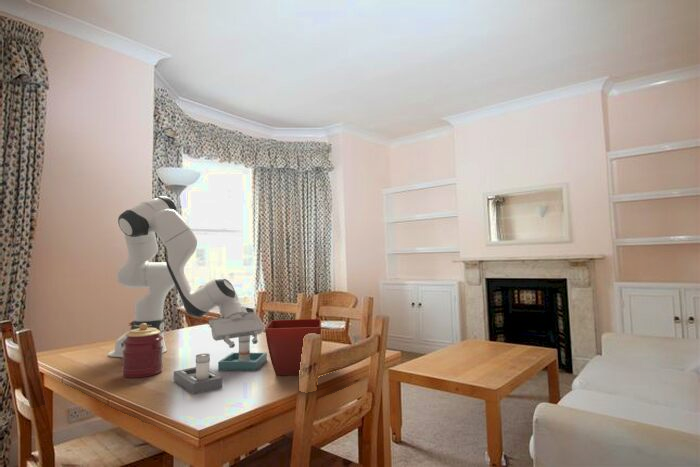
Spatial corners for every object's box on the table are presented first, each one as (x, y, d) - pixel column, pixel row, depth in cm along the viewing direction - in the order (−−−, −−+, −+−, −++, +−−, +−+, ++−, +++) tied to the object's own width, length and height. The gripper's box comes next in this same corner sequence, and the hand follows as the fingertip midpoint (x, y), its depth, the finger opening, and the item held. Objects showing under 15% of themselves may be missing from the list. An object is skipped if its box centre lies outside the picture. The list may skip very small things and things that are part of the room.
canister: (144, 379, 134) (145, 326, 135) (112, 377, 137) (113, 325, 138) (170, 368, 147) (171, 320, 148) (140, 367, 150) (141, 319, 151)
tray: (218, 370, 144) (218, 361, 144) (232, 360, 158) (232, 352, 158) (256, 370, 143) (256, 362, 143) (266, 360, 157) (266, 352, 157)
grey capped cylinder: (236, 364, 149) (236, 337, 150) (240, 361, 153) (240, 335, 154) (247, 364, 149) (247, 337, 149) (251, 361, 153) (251, 335, 154)
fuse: (193, 389, 124) (193, 356, 124) (199, 384, 128) (199, 353, 128) (206, 389, 123) (206, 356, 124) (211, 385, 128) (212, 353, 128)
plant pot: (271, 363, 152) (271, 319, 153) (321, 362, 154) (321, 318, 154) (264, 379, 133) (264, 328, 134) (321, 377, 134) (321, 327, 135)
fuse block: (173, 380, 133) (173, 370, 133) (200, 374, 139) (200, 364, 139) (193, 394, 119) (193, 382, 120) (222, 387, 125) (222, 376, 125)
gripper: (209, 313, 150) (220, 344, 142) (258, 308, 164) (270, 336, 156) (205, 324, 153) (215, 354, 145) (253, 318, 167) (265, 345, 159)
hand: (244, 344), depth 151 cm, fingers open, 8 cm apart
